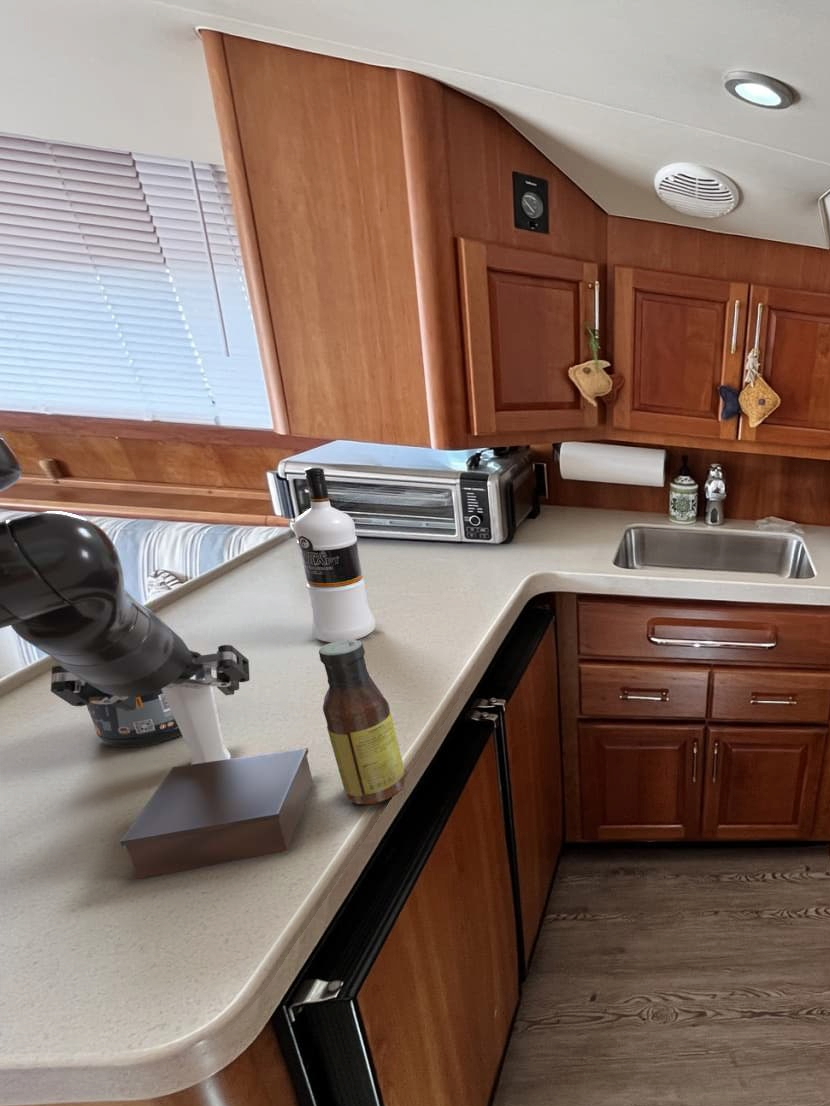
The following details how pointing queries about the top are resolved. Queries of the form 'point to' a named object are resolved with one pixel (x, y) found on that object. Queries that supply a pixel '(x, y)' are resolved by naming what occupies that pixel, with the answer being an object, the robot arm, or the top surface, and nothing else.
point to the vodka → (332, 567)
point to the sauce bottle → (360, 726)
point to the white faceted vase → (197, 722)
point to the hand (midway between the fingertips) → (182, 694)
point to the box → (220, 812)
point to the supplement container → (135, 722)
